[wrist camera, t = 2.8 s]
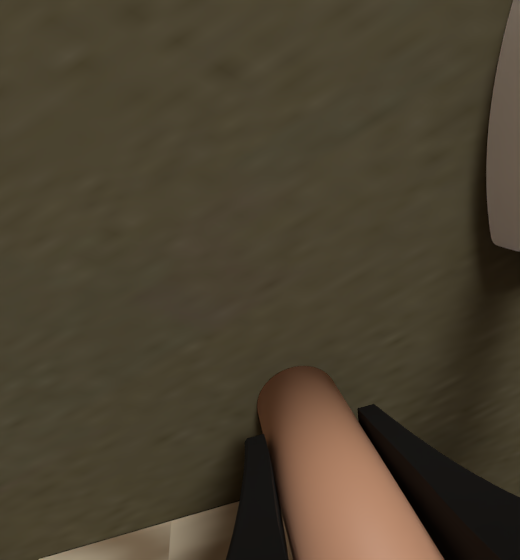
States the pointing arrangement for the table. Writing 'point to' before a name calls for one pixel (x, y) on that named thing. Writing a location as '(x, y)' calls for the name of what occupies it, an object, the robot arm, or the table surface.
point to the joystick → (505, 141)
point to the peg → (333, 476)
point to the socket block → (169, 540)
